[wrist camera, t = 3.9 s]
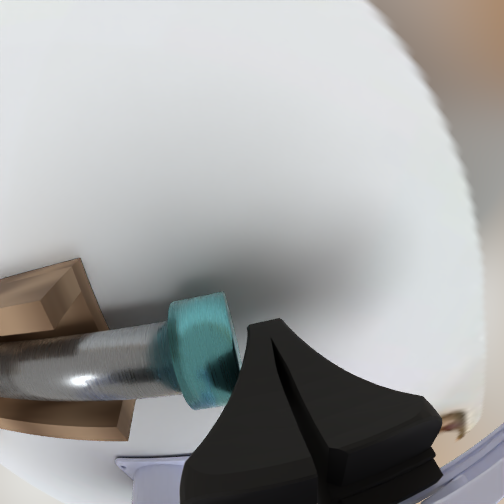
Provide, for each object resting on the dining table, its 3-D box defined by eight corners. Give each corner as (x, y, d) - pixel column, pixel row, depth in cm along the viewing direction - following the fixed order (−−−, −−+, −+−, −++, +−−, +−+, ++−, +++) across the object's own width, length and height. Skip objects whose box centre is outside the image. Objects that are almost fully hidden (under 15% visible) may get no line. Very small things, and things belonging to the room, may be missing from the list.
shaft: (220, 272, 12) (227, 335, 8) (240, 352, 14) (253, 423, 10) (-15, 317, 11) (-53, 360, 7) (19, 375, 13) (-7, 423, 9)
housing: (80, 257, 12) (27, 315, 7) (138, 386, 15) (125, 457, 10) (-52, 294, 11) (-93, 332, 6) (1, 387, 14) (-24, 433, 9)
